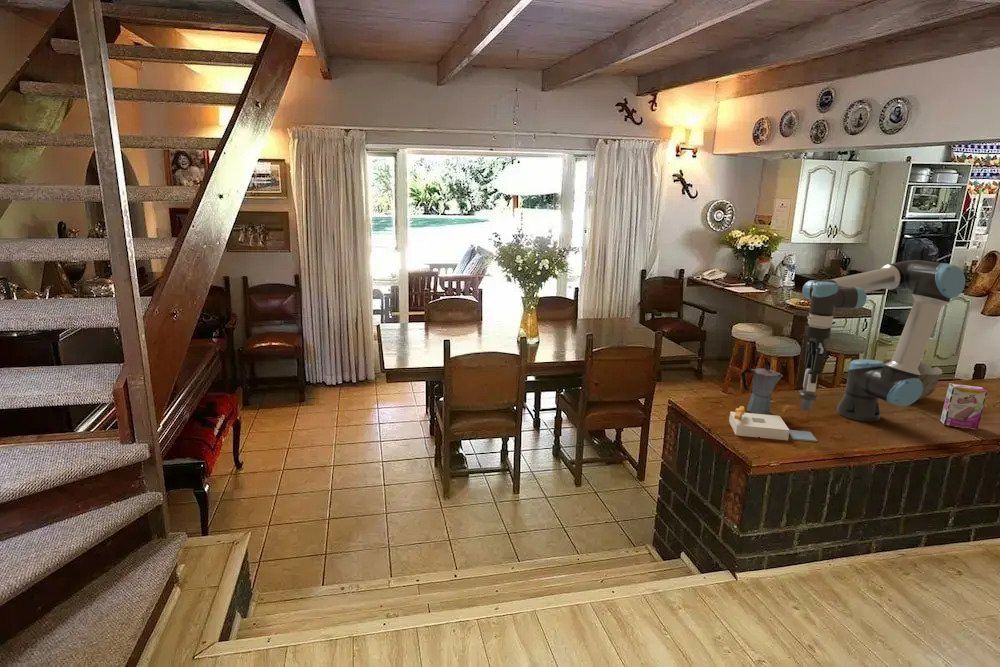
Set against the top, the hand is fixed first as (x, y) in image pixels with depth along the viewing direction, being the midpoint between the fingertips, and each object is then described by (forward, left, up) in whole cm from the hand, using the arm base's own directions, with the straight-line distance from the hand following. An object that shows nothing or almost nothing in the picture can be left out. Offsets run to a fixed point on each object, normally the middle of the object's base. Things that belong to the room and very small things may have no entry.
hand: (808, 389), depth 213 cm
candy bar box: (-64, -26, -19) cm, 72 cm away
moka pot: (+11, -22, -19) cm, 31 cm away
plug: (0, 0, -8) cm, 8 cm away
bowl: (-58, -57, -19) cm, 84 cm away
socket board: (+15, -2, -18) cm, 24 cm away
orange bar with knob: (+22, -1, -12) cm, 25 cm away
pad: (0, 0, -18) cm, 18 cm away
